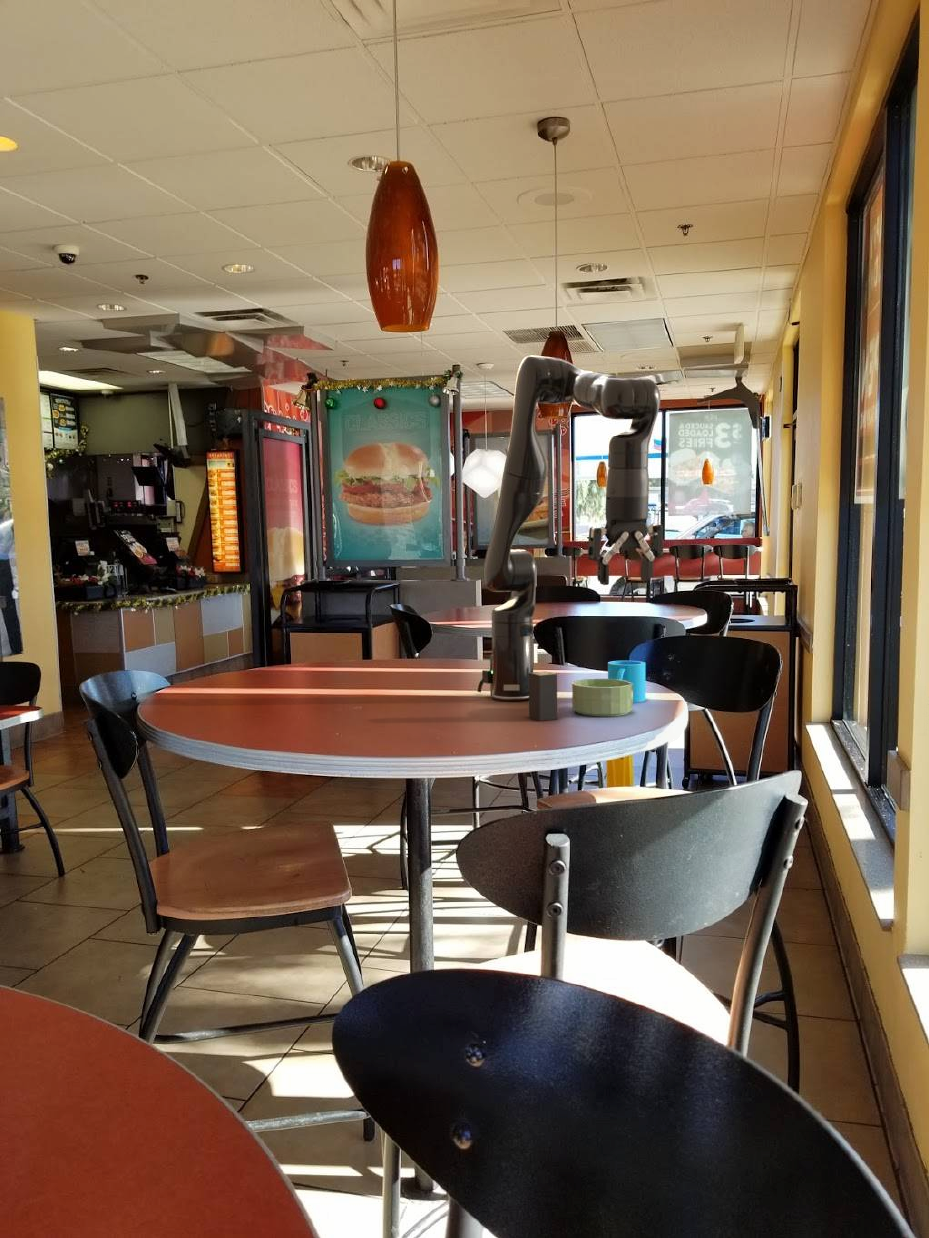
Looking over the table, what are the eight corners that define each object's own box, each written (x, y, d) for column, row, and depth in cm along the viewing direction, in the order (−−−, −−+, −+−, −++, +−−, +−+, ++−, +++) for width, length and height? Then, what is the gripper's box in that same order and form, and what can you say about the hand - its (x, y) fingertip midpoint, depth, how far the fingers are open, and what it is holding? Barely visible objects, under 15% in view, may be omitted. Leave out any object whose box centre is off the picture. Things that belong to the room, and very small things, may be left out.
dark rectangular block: (539, 721, 181) (539, 675, 180) (529, 717, 185) (528, 672, 184) (557, 719, 182) (557, 674, 182) (546, 715, 186) (546, 671, 186)
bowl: (560, 711, 191) (560, 682, 191) (603, 704, 198) (603, 676, 198) (600, 719, 181) (600, 689, 181) (645, 712, 188) (645, 683, 188)
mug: (612, 695, 210) (612, 660, 209) (648, 697, 206) (648, 661, 206) (599, 704, 199) (599, 666, 198) (637, 706, 195) (637, 668, 195)
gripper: (650, 490, 171) (648, 577, 175) (581, 493, 166) (580, 582, 170) (673, 493, 164) (669, 583, 168) (601, 496, 160) (599, 588, 163)
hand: (624, 582), depth 169 cm, fingers open, 8 cm apart
